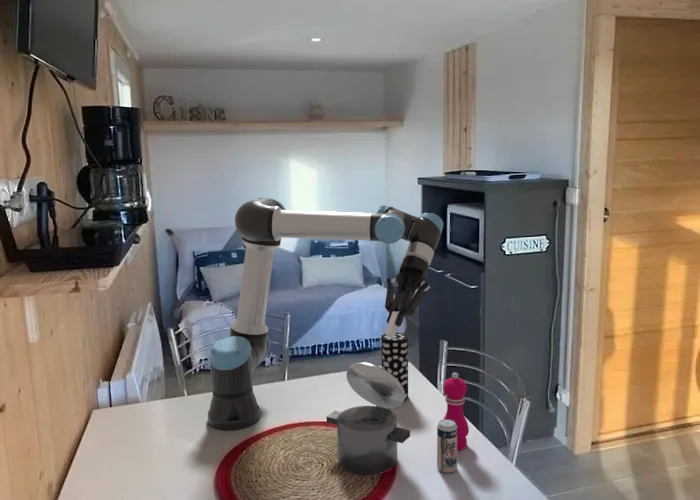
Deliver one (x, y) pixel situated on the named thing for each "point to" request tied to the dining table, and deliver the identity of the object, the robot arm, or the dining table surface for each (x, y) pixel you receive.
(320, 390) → the dining table surface
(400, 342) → the white-spotted black cylinder
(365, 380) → the pot lid
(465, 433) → the pepper mill
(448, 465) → the beer can
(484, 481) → the dining table surface
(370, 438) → the cooking pot
